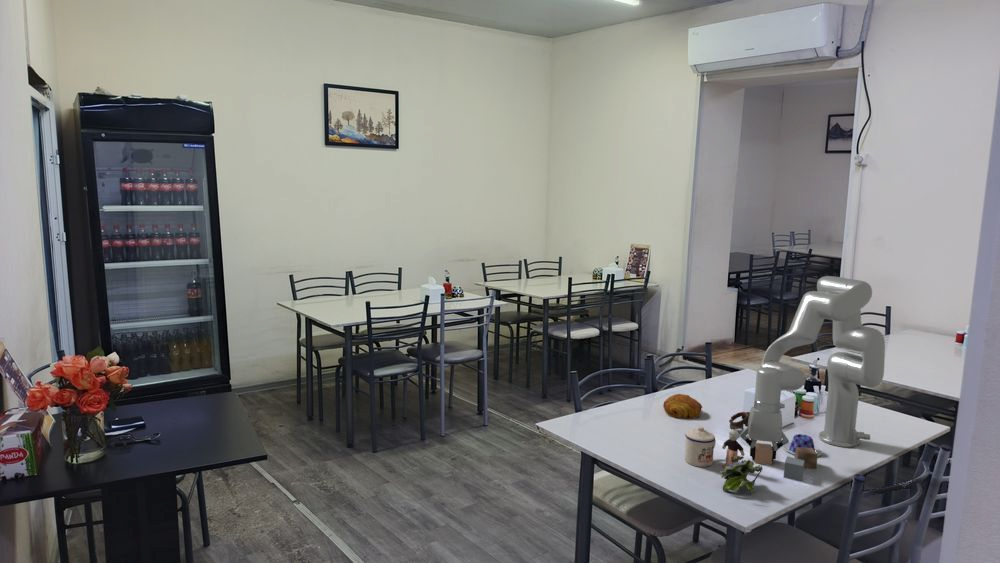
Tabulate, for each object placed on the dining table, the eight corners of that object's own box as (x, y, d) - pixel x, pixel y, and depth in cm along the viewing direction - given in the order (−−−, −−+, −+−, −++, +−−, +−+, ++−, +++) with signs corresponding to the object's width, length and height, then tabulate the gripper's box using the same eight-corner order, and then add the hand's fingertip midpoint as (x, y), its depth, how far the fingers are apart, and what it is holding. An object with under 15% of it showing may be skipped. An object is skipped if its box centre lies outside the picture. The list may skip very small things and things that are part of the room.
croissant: (657, 419, 249) (657, 400, 247) (672, 403, 261) (672, 385, 259) (694, 427, 241) (694, 407, 239) (707, 410, 253) (707, 391, 251)
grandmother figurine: (717, 466, 203) (719, 428, 201) (722, 462, 206) (725, 425, 204) (741, 474, 198) (744, 434, 196) (746, 470, 200) (749, 431, 198)
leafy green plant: (733, 500, 192) (749, 463, 195) (760, 510, 182) (776, 472, 185) (707, 483, 189) (723, 446, 192) (733, 493, 179) (750, 454, 182)
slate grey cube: (803, 475, 198) (804, 460, 197) (801, 481, 193) (802, 466, 193) (785, 471, 200) (787, 456, 199) (783, 477, 196) (784, 462, 195)
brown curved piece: (759, 440, 226) (749, 421, 225) (734, 445, 231) (723, 426, 230) (763, 421, 235) (753, 403, 234) (739, 427, 241) (729, 409, 240)
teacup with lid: (700, 470, 200) (702, 434, 198) (677, 459, 207) (679, 425, 206) (725, 461, 206) (727, 427, 205) (702, 451, 214) (704, 418, 212)
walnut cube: (810, 462, 207) (811, 447, 206) (816, 469, 202) (817, 454, 201) (794, 461, 208) (795, 447, 207) (799, 468, 203) (801, 453, 202)
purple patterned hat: (778, 443, 223) (780, 428, 222) (815, 446, 221) (817, 431, 220) (787, 457, 211) (788, 442, 211) (826, 460, 209) (827, 445, 208)
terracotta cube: (769, 458, 209) (770, 444, 208) (771, 464, 204) (772, 450, 204) (753, 456, 210) (754, 442, 210) (754, 462, 206) (756, 448, 205)
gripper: (793, 405, 206) (789, 458, 209) (737, 399, 211) (733, 451, 213) (797, 412, 199) (792, 468, 201) (739, 406, 203) (735, 461, 206)
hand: (762, 459), depth 207 cm, fingers closed on terracotta cube, 5 cm apart
